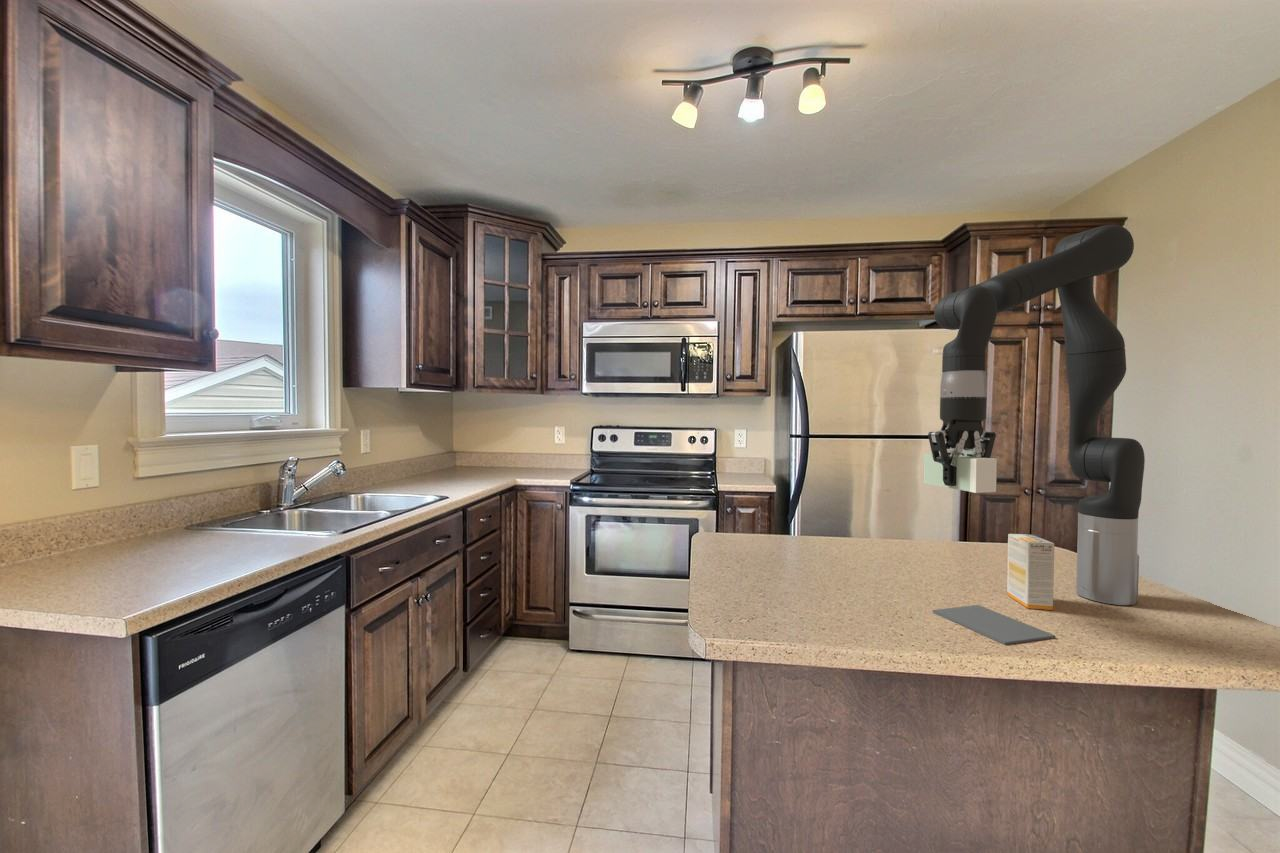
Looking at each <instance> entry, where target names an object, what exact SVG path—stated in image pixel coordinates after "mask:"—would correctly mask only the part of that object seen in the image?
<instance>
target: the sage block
mask: <svg viewBox="0 0 1280 853" xmlns="http://www.w3.org/2000/svg"><path fill="white" fill-rule="evenodd" d="M951 455H952V454H951ZM951 455H950V457H949V459H951ZM940 456H941V455H940ZM997 461H998V460H997V458H994V457H990V458H982V457H974V456H973V455H972V456H965V455H962V454H961V455H959V457H957V464H956V466H954V467H957V474H956V486H947V485H945V484H944V482H943V465H942V464H941V463H938V462H935V461H934V460H933V456H932V453H924V454H923V484H924V485H929V486H935V487H941V488H948V489H951V490H952V489H953V490H958V491H965V492H970V493H974V494H984V493H997V472H998V471H997V469H998V468H997V467H998V466H997Z"/></svg>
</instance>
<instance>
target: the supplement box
mask: <svg viewBox="0 0 1280 853" xmlns="http://www.w3.org/2000/svg"><path fill="white" fill-rule="evenodd" d="M1007 537H1008V538H1007V580H1006V581H1007V582H1006V585H1007V586H1006V596H1008V597H1010V598H1011V599H1012V600H1014V601H1016V602H1018V603H1019V604H1021V605H1022V606H1023V607H1025V608H1026V609H1032V610H1047V611H1053V610H1054V586H1055V585H1054V580H1055V579H1054V578H1055V577H1054V576H1055V543H1054V542H1052V541H1049V540H1046V539H1044V538H1041V537H1039V536H1036V535H1034V534H1028V533H1027V534H1025V533H1023V534H1022V533H1008V535H1007Z"/></svg>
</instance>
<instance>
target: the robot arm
mask: <svg viewBox="0 0 1280 853" xmlns="http://www.w3.org/2000/svg"><path fill="white" fill-rule="evenodd" d="M1134 247H1135V243H1134V238H1133V236H1132V234H1131V232H1130V231H1129V230H1128V229H1127V228H1126V227H1124V226H1121V225H1119V224H1106V225H1100V226H1097V227H1094V228H1091V229H1086V230H1084V231H1081V232H1080V231H1079V232H1078V233H1075V234H1071V235H1068V236H1066V237H1065V236H1064V237H1063V238H1062V239H1061V240H1059V242H1058V243H1057V244H1056V245H1055V248H1054V250H1053V254H1051V255H1048V256H1045V257H1042V258H1039V259H1036V260H1032V261H1030V262H1027V263H1024V264H1021V265H1018V266H1016V267H1013V268H1011V269H1008V270H1006V271H1005V270H1004V271H1003V272H1001V273H999V274H996V275H995V276H992V277H990V278H988V279H987V280H985V281H983V282H980V283H977V284H975V285H974V284H973V285H972V286H968V287H965V288H962V289H960V290H956V291H954V292H952V293H949V294H947V295H945V296H943V297H942V298H941V299H939V301H938V302H937V304H936V306H935V308H934V311H933V312H934V313H933V315H934V319H935V322H936V324H937V325H939V327H941V328H942V329H945V330H951V331H956V330H958V331H957V334H956V336H955V338H954V339H953V340H950V341H949V342H947V343H945V345H944V346H943V349H942V360H941V362H942V363H941V364H942V365H941V367H942V368H941V379H940V388H939V390H940V391H939V392H940V393H939V394H940V395H939V396H940V397H939V419H940V420H941V421H942V426H941V428H940V430H936V431H929V432H928V433H927V436H928V441H929V445H930V450H931V454H932V456H933V460H934V461H935V462H938V463H941V464H942V465H943V482H944V484H945V485H947V486H956V474H957V467H954V466H956V464H957V457H959V455H962V454H963V456H972V457H982V458H992V452H993V449H994V444H995V440H996V436H997V433H995V432H994V431H987V430H985V429H984V426H983V424H982V422H983V421H985V420H986V419H987V402H988V401H987V399H988V397H987V394H988V392H987V391H988V390H987V389H988V383H987V375H986V374H987V373H986V364H987V363H986V362H987V361H986V360H987V359H986V358H987V355H986V354H987V352H986V351H987V348H988V347H987V346H988V344H989V342H990V338H991V335H992V332H993V329H994V326H995V323H996V319H997V314H999V313H1003V312H1006V311H1010V310H1012V309H1013V308H1016V307H1018V306H1020V305H1021V306H1022V304H1025V303H1027V302H1030V301H1031V300H1033V299H1035V298H1038V297H1040V296H1043V295H1045V294H1046V293H1047V294H1048V293H1049V292H1052V291H1053V290H1056V289H1057V293H1058V294H1057V295H1058V298H1059V304H1060V309H1061V317H1062V325H1063V336H1064V357H1065V370H1066V377H1067V386H1068V399H1069V400H1068V401H1069V427H1068V428H1069V433H1068V462H1069V466H1070V469H1071V472H1072V474H1073V475H1074V476H1075V477H1076V478H1078V479H1081V480H1085V481H1094V482H1103V483H1110V484H1109V489H1108V490H1107V491H1106V492H1104V493H1102V494H1099V495H1095V496H1090V497H1089V496H1088V497H1084V498H1081V499H1080V500H1079V501H1078V506H1077V507H1078V508H1077V511H1078V512H1077V541H1076V542H1077V546H1076V547H1077V548H1076V550H1077V551H1076V576H1075V577H1076V581H1075V582H1076V583H1075V584H1076V586H1075V592H1076V594H1077V595H1078V596H1080V597H1082V598H1085V599H1088V600H1091V601H1095V602H1099V603H1104V604H1109V605H1116V606H1133V605H1136V602H1137V601H1139V576H1140V575H1139V574H1140V569H1139V568H1140V554H1138V546H1139V544H1138V543H1139V542H1138V539H1139V536H1138V535H1139V533H1138V532H1139V510H1140V507H1141V504H1142V502H1141V501H1142V496H1143V495H1142V493H1143V492H1142V491H1143V482H1144V473H1145V472H1144V471H1145V465H1146V464H1145V463H1146V462H1145V460H1146V459H1145V458H1146V457H1145V452H1144V449H1143V446H1142V444H1141V443H1140V441H1138V440H1137V439H1134V438H1127V437H1106V436H1105V437H1104V436H1103V437H1102V436H1099V435H1098V424H1099V418H1100V415H1101V412H1102V410H1103V408H1104V407H1105V405H1106V404H1107V402H1108V401H1109V400H1110V398H1111V397H1112V396H1113V394H1114V393H1115V392H1116V390H1117V389H1118V387H1119V386H1120V385H1121V383H1122V382H1123V379H1124V378H1125V376H1126V372H1127V358H1126V357H1127V356H1126V344H1125V338H1124V337H1123V335H1122V333H1121V331H1120V330H1119V329H1118V327H1117V326H1116V325H1115V324H1114V323H1113V321H1112V320H1111V319H1110V318H1109V317H1108V315H1106V314H1105V312H1104V311H1103V310H1102V309H1101V307H1100V306H1099V304H1098V302H1097V300H1096V298H1095V294H1094V288H1093V281H1092V280H1093V278H1092V277H1097V276H1101V275H1107V274H1109V273H1113V272H1115V271H1118V270H1119V269H1122V268H1123V267H1124V266H1125V265H1126V264H1127V263H1128V262H1129V261H1130V259H1131V258H1132V255H1133V253H1134ZM983 451H984V452H983ZM940 455H941V456H940ZM950 455H951V459H949V457H950Z"/></svg>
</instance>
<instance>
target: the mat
mask: <svg viewBox="0 0 1280 853" xmlns="http://www.w3.org/2000/svg"><path fill="white" fill-rule="evenodd" d="M932 613H933V614H936V615H938V616H940V617H943V618H945V619H947V620H949V621H951V622H954V623H956V624H958V625H960V626H963V627H964V626H965V627H964V628H966V627H967V629H968V630H971V631H974V632H976V633H977V632H978V634H980V635H982V636H983V637H984V636H985V637H987V638H988V639H990V640H993V641H995V642H997V643H999V644H1002V645H1003V646H1005V645H1007V646H1008V645H1014V644H1021V643H1022V644H1023V643H1027V642H1028V643H1029V642H1034V641H1041V640H1048V639H1049V640H1050V639H1055V638H1056V635H1055V634H1053V633H1050V632H1047V631H1045V630H1042V629H1040V628H1038V627H1035V626H1032V625H1030V624H1028V623H1025V622H1022V621H1020V620H1017V619H1014V618H1012V617H1010V616H1007V615H1005V614H1003V613H999V612H997V611H995V610H992V609H989V608H987V607H985V606H982V605H979V604H975V605H966V606H956V607H948V608H939V609H932Z"/></svg>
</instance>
